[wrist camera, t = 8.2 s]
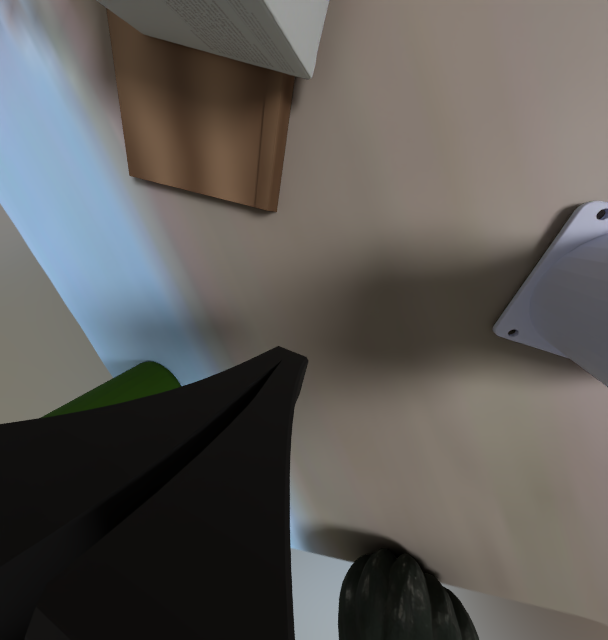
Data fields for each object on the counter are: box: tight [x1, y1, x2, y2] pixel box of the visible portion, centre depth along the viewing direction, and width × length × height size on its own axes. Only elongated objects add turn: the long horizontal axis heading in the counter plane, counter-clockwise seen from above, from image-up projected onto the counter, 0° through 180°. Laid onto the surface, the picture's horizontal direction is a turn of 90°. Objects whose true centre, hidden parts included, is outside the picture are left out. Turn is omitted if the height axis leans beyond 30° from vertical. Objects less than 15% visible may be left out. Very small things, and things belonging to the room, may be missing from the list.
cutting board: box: [106, 8, 295, 212], centre depth 13 cm, size 14×20×2 cm
